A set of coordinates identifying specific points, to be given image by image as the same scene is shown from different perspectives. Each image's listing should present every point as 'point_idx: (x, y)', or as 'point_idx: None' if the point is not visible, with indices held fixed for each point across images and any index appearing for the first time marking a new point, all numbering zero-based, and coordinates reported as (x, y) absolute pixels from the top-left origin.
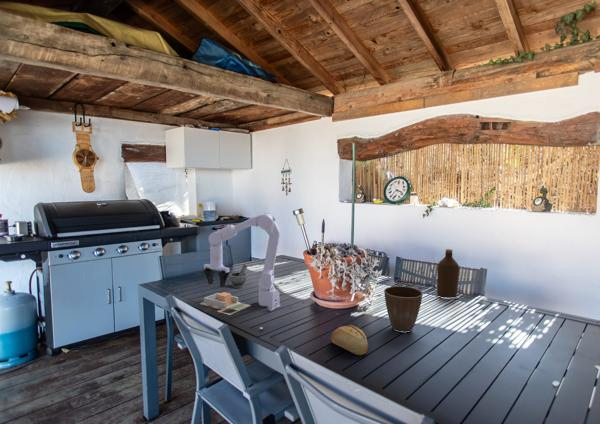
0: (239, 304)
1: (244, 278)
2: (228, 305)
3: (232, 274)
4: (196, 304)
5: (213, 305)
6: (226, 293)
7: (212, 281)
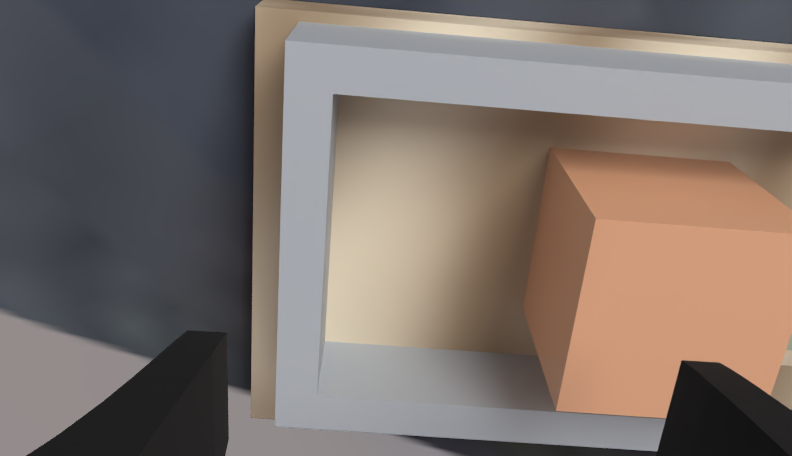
0: None
1: None
2: None
3: None
4: (137, 335)
5: None
6: (708, 269)
7: (214, 381)
